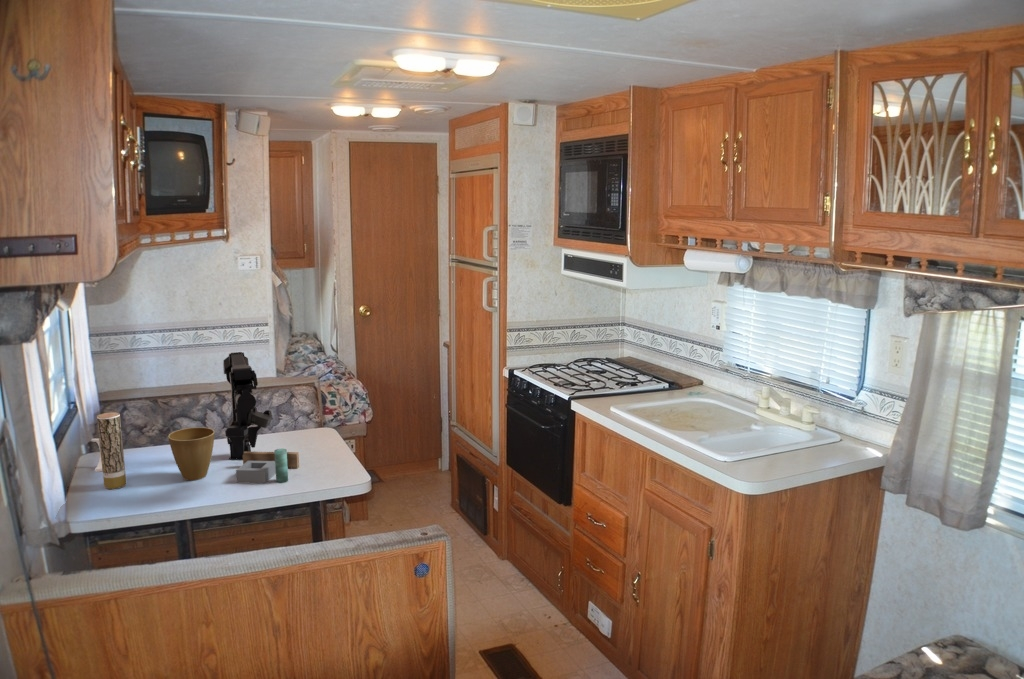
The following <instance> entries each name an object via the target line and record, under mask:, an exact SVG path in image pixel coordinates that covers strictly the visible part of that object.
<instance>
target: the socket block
mask: <svg viewBox="0 0 1024 679" xmlns="http://www.w3.org/2000/svg"><path fill="white" fill-rule="evenodd" d="M235 472H236V473H235V474H236V483H239V484H267V482H268V481H270V480H271V479H272V478H273V477H274V476H276V469H275V461H247V462H246V463H244V464H243V463H242V465H241V466H240V467H238V468H237V469H236V470H235Z"/></svg>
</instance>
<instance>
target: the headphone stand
mask: <svg viewBox="0 0 1024 679" xmlns="http://www.w3.org/2000/svg"><path fill="white" fill-rule="evenodd" d="M90 441H91V442H93V443H95V442H96V443H97V445H98V448H99V450H100V442H99V438H91V440H90ZM94 472H95V473H96V472H97V473H99V472H103V471H102V461H101V452H100V451H99V460H98V463H97V466H96V467H95V469H94Z"/></svg>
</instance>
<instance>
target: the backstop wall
mask: <svg viewBox="0 0 1024 679" xmlns="http://www.w3.org/2000/svg"><path fill="white" fill-rule="evenodd" d="M247 461H275V453H274V451H251V452H247V451H245V452H244V455H243V460H242V465H243V464H244V463H246V462H247ZM287 466H288V469H293V470H297V469H299V468H300V454H299V452H298V451H297V452H296V451H295V452H293V451H290V452H289V451H287Z"/></svg>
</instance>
